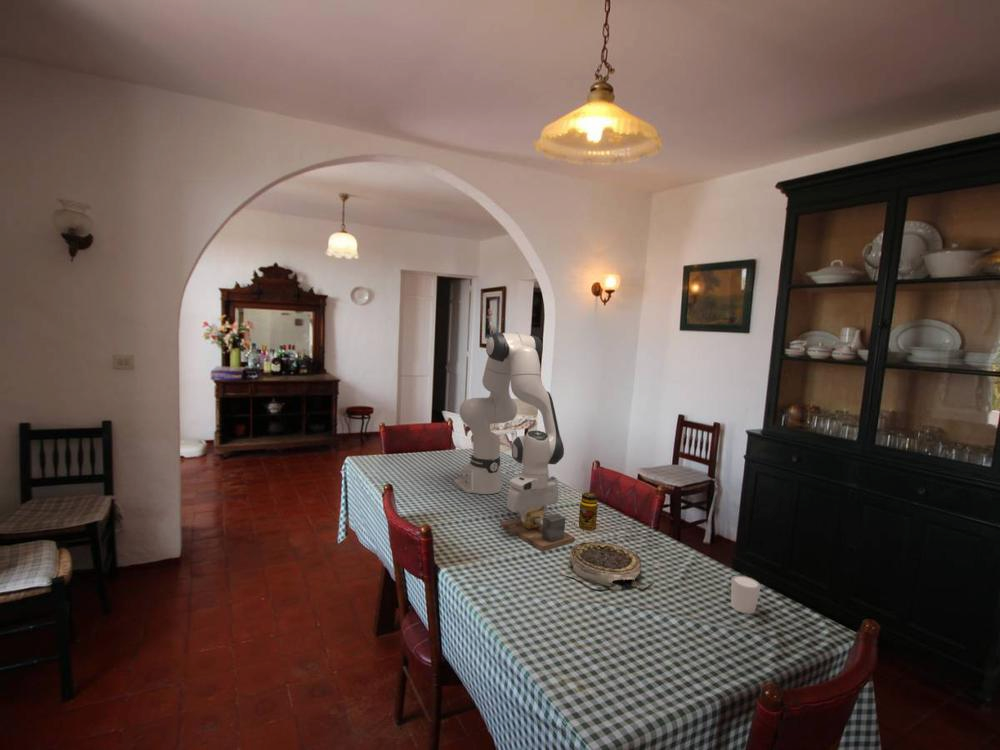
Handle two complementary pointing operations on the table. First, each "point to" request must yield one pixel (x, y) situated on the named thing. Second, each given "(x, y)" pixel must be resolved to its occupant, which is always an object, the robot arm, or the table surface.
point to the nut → (532, 517)
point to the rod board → (541, 531)
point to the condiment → (588, 513)
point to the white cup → (744, 594)
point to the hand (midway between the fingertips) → (532, 519)
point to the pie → (605, 563)
